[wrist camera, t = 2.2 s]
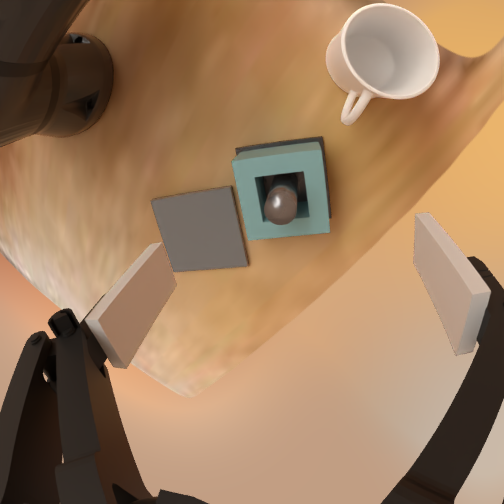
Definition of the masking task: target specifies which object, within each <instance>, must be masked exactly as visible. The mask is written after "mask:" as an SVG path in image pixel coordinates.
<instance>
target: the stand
mask: <svg viewBox="0 0 504 504" xmlns="http://www.w3.org/2000/svg"><path fill="white" fill-rule="evenodd" d="M310 142H319V144H320V147H321V151H322V159H323V167H324V176H325V184H326V193H327V203H328V214H329V218H331V207H330V197H329V187H328V178H327V170H326V161H325V153H324V146H323V138H322V136H321V137H312V138H303V139H294V140H286V141H279V142H272V143H265V144H258V145H252V146H245V147H239V148H236V154H237V155H238V154H239V153H240V152H244V151H250V150H257V149H263V148H270V147H278V146H285V145H293V144H301V143H310ZM262 177H263V182H264V187H265V193H266V199H267V200H266V203H265V206H264V213H265V216H266V218H267V219H268V220H269V221H270V222H272V223H274V224H276V225H286V224H288V223H290V222H291V221H292V220H293V219H294V218H295V216H296V213H297V202H304V201H308V199H307V191H306V184H305V176H304V171H301V172H292V173H283V174H275V175H268V176H262Z"/></svg>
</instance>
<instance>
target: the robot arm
mask: <svg viewBox="0 0 504 504" xmlns="http://www.w3.org/2000/svg"><path fill="white" fill-rule="evenodd" d="M88 2H89V0H0V147H2V146H5V145H7V144H10V143H12V142H15V141H17V140H20V139H22V138H25V137H28V136H31V135H34V134H37V135H45V136H52V137H68V136H71V135H75V134H78V133H81V132H83V131H85V130H86V129H88V128H89V127H91V126H92V125H93V124H94V123H95V122H96V121H97V120H98V118H99V117H100V116H101V114H102V113H103V111H104V109H105V107H106V105H107V103H108V100H109V97H110V94H111V90H112V84H113V67H112V61H111V58H110V55H109V52H108V50H107V49H106V47H105V46H104V44H103V43H102V42H101V41H100V40H99V39H97V38H96V37H94V36H92V35H89V34H83V33H67V34H66V32H67V31H68V29H69V28H70V26H71V25H72V23H73V22H74V20H75V19H76V18H77V16H78V15H79V13H80V12H81V11H82V9H83V8H84V7H85V5H86V4H87V3H88ZM413 263H414V265H415V267H416V269H417V271H418V273H419V275H420V277H421V279H422V281H423V283H424V285H425V287H426V289H427V291H428V293H429V295H430V297H431V299H432V302H433V304H434V306H435V308H436V310H437V313H438V315H439V317H440V319H441V322H442V324H443V326H444V329H445V331H446V333H447V335H448V338H449V340H450V343H451V345H452V348H453V350H454V353H455V355H456V356H457V355H461V354H466V353H470V352H473V350H474V347H475V344H476V341H478V343H479V348H478V350H477V352H476V355H475V357H474V359H473V362H472V364H471V366H470V368H469V370H468V372H467V375H466V377H465V379H464V381H463V383H462V385H461V387H460V389H459V391H458V393H457V394H456V396H455V398H454V400H453V402H452V404H451V406H450V407H449V409H448V411H447V413H446V414H445V416H444V418H443V420H442V421H441V423H440V425H439V426H438V428H437V430H436V431H435V433H434V434H433V436H432V438H431V439H430V441H429V442H428V444H427V445H426V447H425V448H424V450H423V451H422V453H421V454H420V456H419V457H418V458H417V460H416V461H415V463H414V464H413V466H412V467H411V468H410V470H409V471H408V472H407V473H406V475H405V476H404V477H403V478H402V479H401V480H400V481H399V482H398V484H397V485H396V486H395V487H394V488H393V490H392V491H391V492H390V493H389V495H388V496H387V497H386V498H385V499H384V500H383V502H382V503H381V504H454V499H455V497H456V495H457V494H458V492H459V490H460V489H461V487H462V485H463V484H464V482H465V480H466V478H467V477H468V475H469V473H470V471H471V469H472V467H473V466H474V464H475V462H476V460H477V458H478V456H479V454H480V452H481V450H482V448H483V446H484V444H485V442H486V440H487V438H488V435H489V433H490V431H491V429H492V426H493V424H494V422H495V419H496V417H497V414H498V412H499V409H500V407H501V404H502V401H503V399H504V289H503V288H502V286H501V285H500V284H499V282H498V281H497V280H496V278H495V277H494V276H493V274H492V273H491V272H490V271H489V270H488V268H487V267H486V265H485V264H484V263H483V262H482V261H480V260H479V259H477V258H476V257H474V256H473V257H466V256H465V255H464V254H463V252H462V251H461V250H460V249H459V247H458V246H457V245H456V244H455V243H454V241H453V240H452V239H451V237H450V236H449V235H448V234H447V233H446V231H445V230H444V229H443V228H442V227H441V226H440V224H439V223H438V222H437V221H436V220H435V219H434V217H432V215H431V214H430V213H429V212H427V213H416V214H415V240H414V261H413ZM176 286H177V283H176V280H175V277H174V275H173V272H172V269H171V266H170V263H169V261H168V258H167V255H166V252H165V249H164V246H163V243H162V242H161V243H153V244H150V245H149V246H148V247H147V248H146V249H145V250H144V251H143V252H142V254H141V255H140V256H139V257H138V258H137V259H136V260H135V261H134V262H133V264H132V265H131V266H130V267H129V268H128V269H127V270H126V271H125V272H124V274H123V275H122V276H121V277H120V278H119V279H118V280H117V282H116V283H115V284H114V285H113V286H112V287H111V289H110V290H109V291H108V292H107V293H106V294H105V295H103V296H102V297H101V299H100V300H99V301H98V302H97V304H96V305H95V306H94V307H93V309H91V311H90V312H89V313H88V314H87V315H86V317H85V318H84V319H83V320H82V321H81V323H80V324H79V322H78V320H77V319H76V317H75V315H74V313H73V311H72V310H71V309H69V308H68V309H63V310H60V311H58V312H56V313H55V314H54V315H53V316H52V317H51V318H50V319H49V321H48V325H49V326H50V328H51V330H52V331H53V333H54V334H55V336H56V338H53V339H49V337H48V335H47V334H46V332H44V331H39V332H37V333H34V334H33V335H31V336H30V338H29V339H28V340H27V342H26V344H25V346H24V348H23V351H22V353H21V356H20V358H19V361H18V363H17V366H16V368H15V371H14V374H13V376H12V379H11V382H10V385H9V387H8V391H7V393H6V397H5V399H4V402H3V405H2V409H1V412H0V504H208V503H206V502H204V501H201V500H199V499H197V498H195V497H192V496H187V495H183V494H178V493H173V492H169V491H165V490H160V492H159V495H158V497H152V495H151V494H150V493H149V492H148V491H147V489H146V487H145V486H144V483H143V481H142V479H141V476H140V473H139V471H138V468H137V465H136V463H135V460H134V457H133V455H132V452H131V449H130V446H129V443H128V441H127V437H126V434H125V431H124V428H123V425H122V422H121V418H120V415H119V411H118V408H117V404H116V401H115V397H114V394H113V389H112V386H111V382H110V378H109V373H108V369H107V367H106V366H105V365H104V362H105V361H106V359H107V358H108V359H109V361H110V363H111V364H112V366H113V367H116V368H124V369H127V367H128V366H129V364H130V362H131V360H132V359H133V357H134V355H135V354H136V352H137V350H138V348H139V347H140V345H141V343H142V342H143V340H144V338H145V337H146V335H147V333H148V332H149V330H150V328H151V327H152V325H153V323H154V322H155V320H156V318H157V317H158V315H159V313H160V312H161V310H162V308H163V307H164V305H165V304H166V302H167V300H168V299H169V297H170V295H171V294H172V292H173V291H174V289H175V287H176ZM43 372H44V373H45V375H46V376H47V377H48V379H47V382H46V381H45V379H44V376H43ZM62 455H63V458H64V463H62ZM502 504H504V500H503V503H502Z"/></svg>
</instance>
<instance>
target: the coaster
mask: <svg viewBox="0 0 504 504" xmlns="http://www.w3.org/2000/svg"><path fill="white" fill-rule="evenodd" d="M151 204H152V208H153V211H154V214H155V217H156V220H157V224H158V227H159V230H160V233H161V236H162V239H163V242H164V245H165V248H166V251H167V254H168V257H169V260H170V263H171V266H172V268H173V271H174V272H182V271H195V270H208V269H221V268H233V267H246V266H248V264H249V263H248V258H247V254H246V249H245V245H244V240H243V236H242V231H241V227H240V222H239V217H238V213H237V208H236V204H235V199H234V195H233V190H232V186H226V187H219V188H213V189H207V190H200V191H194V192H189V193H183V194H177V195H172V196H166V197H161V198H155V199H152V200H151Z"/></svg>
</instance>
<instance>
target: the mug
mask: <svg viewBox="0 0 504 504" xmlns="http://www.w3.org/2000/svg"><path fill="white" fill-rule="evenodd" d="M439 64H440V57H439V50H438V46H437V43H436V41H435V38H434V36H433V34H432V33H431V31H430V30H429V28H428V27H427V26H426V25H425V24H424V22H423V21H422V20H421V19H419V18H418V17H417V16H416V15H414V14H413V13H411V12H410V11H408V10H406V9H404V8H402V7H399V6H396V5H392V4H385V3H377V4H371V5H367V6H364V7H362V8H360V9H358V10H357V11H355V12H354V13H353V14H352V15H351V16H350V17H349V18H348V20H347V21H346V23H345V24H344V26H343V27H342V29H341V30H340V32H339V33H338V34H337V35H336V36H335V37H334V38H333V39H332V40H331V42H330V43H329V45H328V48H327V51H326V66H327V69H328V72H329V74H330V76H331V78H332V79H333V81H334V82H335V83H336V84H337V85H338V86H339V87H340V88H341V89H342V90H343V91H345V92H347V93H348V97H347V99H346V102H345V104H344V107H343V110H342V114H341V122H342V123H343V124H345V125H348V126H349V125H351V124H353V123H354V122H355V121H356V120H357V119H358V118H359V116H360V115H361V114H362V112H363V111H364V109H365V108H366V106H367V104H368V103H369V101H370V100H371V98H376V97H379V98H389V99H408V98H413V97H416V96H418V95H420V94H422V93H423V92H425V91H426V90H427V89H428V88H429V87H430V86H431V85H432V84H433V82H434V80H435V79H436V76H437V74H438V70H439ZM356 97H359V100H358V101H357V103H356V105H355V106H354V108H353V109H352V111H351V108H352V106H353V103H354V101H355V99H356ZM350 111H351V112H350Z"/></svg>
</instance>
